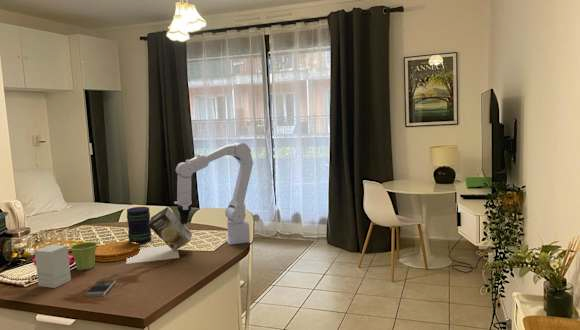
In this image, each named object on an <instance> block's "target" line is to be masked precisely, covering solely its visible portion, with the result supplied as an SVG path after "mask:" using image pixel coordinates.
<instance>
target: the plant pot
mask: <svg viewBox="0 0 580 330" xmlns="http://www.w3.org/2000/svg"><path fill="white" fill-rule="evenodd" d="M97 246H98V243H97V242H96V241H95V242H94V241H87V242H86V241H85V242H80V243H76V244H72V245H71V246H69V249H70V251H71V253H72V255H73V259H74V262H75V263H74V264H75V267H76V270H77V271H84V270H91V269H92V268H94V267H95V262H96V250H97Z"/></svg>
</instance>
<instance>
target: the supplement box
mask: <svg viewBox="0 0 580 330" xmlns="http://www.w3.org/2000/svg"><path fill="white" fill-rule="evenodd" d="M34 257H35V265H36V266H35V267H36V268H35V269H36V275H37V285H38V287H42V288H52V289H55V288H57V287H60V286H62V285H64V284H66V283H68V282H71V281H72V277H71V268H70V259H69V257H70V256H69V248H68V245H59V244H50V245H47V246H44V247H42V248H38V249H36V250H35V251H34Z"/></svg>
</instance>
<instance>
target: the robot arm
mask: <svg viewBox="0 0 580 330" xmlns="http://www.w3.org/2000/svg"><path fill="white" fill-rule="evenodd" d="M251 152H252V150H251V148H250V147H249V146H248V144H247V143H245V142H237V141H236V142H235V141H233V142H231V143H228V144H225V145H223V146H221V147H220V148H217V149H215V150H214V151H212V152H210V153H208V154H206V155H205V154H200V153H198V154H196V155H195V156H194V157H193V158H191V159H186V160H185V162H184V161H183V162H179V163H178V164H177V165H176V168H175V169H174V170H175V173H176V174H177V176H176V178H177V181H176V184H177V185H176V187H177V189H176V190H177V191H176V200H177V201H174V205H178V206H176V208H177V210H178V212H179V218H180V221H181V223H182V224H184V225H187V224H188V221H189V215H190V213H191V210H192V203H193V202H192V176H193V174H194V173H197V172H198V171H201V170H203V169H205V168H207V167H208V166H209V165H210V163H211V162H214V161H215V160H218V159H221V158H224V157H225V156H230V157H231V156H232V157H233V158H235V159H236V161H237V162H238V164H239V169H238V173H237V178H236V183H235V187H234V191H233V195H232V199H231V200H230V201H229V203H228V206H227V208H226V209H225V212H224V214H225V217H226V218H227V238H226V242H227V244H228V245H238V244H247V243H251V239H250V238H251V237H250V236H251V235H250V234H251V233H250V223H249V221H248V220H245V219H246V204H245V199H246V194H247V191H248V188H249V182H250V178H251V174H252V169H253V165H254V162H253V158H252V153H251Z"/></svg>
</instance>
